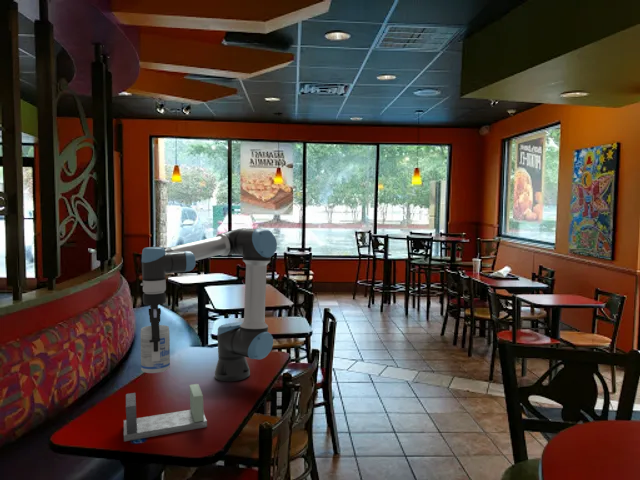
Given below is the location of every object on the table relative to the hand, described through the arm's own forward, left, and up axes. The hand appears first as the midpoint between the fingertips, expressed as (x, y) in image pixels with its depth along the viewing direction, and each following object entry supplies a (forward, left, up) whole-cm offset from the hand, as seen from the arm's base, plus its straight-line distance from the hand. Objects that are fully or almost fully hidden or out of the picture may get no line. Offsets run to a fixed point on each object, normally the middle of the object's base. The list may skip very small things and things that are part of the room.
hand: (155, 356), depth 170 cm
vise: (-2, +6, -23) cm, 24 cm away
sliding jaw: (-12, +6, -20) cm, 25 cm away
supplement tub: (0, 0, -5) cm, 5 cm away
